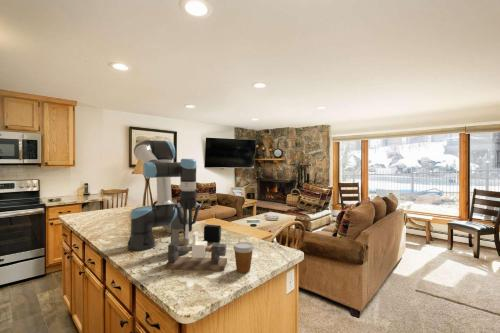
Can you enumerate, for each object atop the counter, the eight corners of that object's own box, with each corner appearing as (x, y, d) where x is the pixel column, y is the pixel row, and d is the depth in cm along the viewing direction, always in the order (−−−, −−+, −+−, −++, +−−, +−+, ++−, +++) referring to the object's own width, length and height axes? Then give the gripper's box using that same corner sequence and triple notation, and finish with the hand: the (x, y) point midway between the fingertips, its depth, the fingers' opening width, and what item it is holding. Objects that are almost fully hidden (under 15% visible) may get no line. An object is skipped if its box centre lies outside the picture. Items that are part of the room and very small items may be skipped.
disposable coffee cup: (233, 266, 120) (233, 241, 120) (252, 265, 121) (252, 241, 121) (233, 275, 111) (233, 248, 111) (254, 274, 112) (254, 248, 111)
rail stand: (165, 268, 117) (165, 246, 117) (172, 260, 127) (173, 240, 127) (224, 270, 115) (224, 248, 115) (227, 262, 125) (227, 241, 125)
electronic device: (218, 243, 155) (218, 227, 155) (203, 241, 157) (203, 226, 157) (220, 240, 159) (220, 225, 159) (206, 239, 161) (206, 224, 161)
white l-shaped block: (192, 257, 118) (192, 234, 118) (195, 252, 124) (195, 231, 124) (204, 257, 118) (204, 234, 118) (207, 253, 124) (207, 231, 124)
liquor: (170, 251, 140) (170, 198, 140) (186, 248, 144) (187, 197, 143) (172, 256, 132) (172, 200, 131) (189, 254, 136) (190, 199, 135)
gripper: (172, 190, 117) (171, 239, 118) (199, 191, 117) (198, 240, 117) (177, 189, 125) (177, 235, 125) (203, 189, 124) (202, 236, 125)
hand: (187, 237), depth 121 cm, fingers closed
